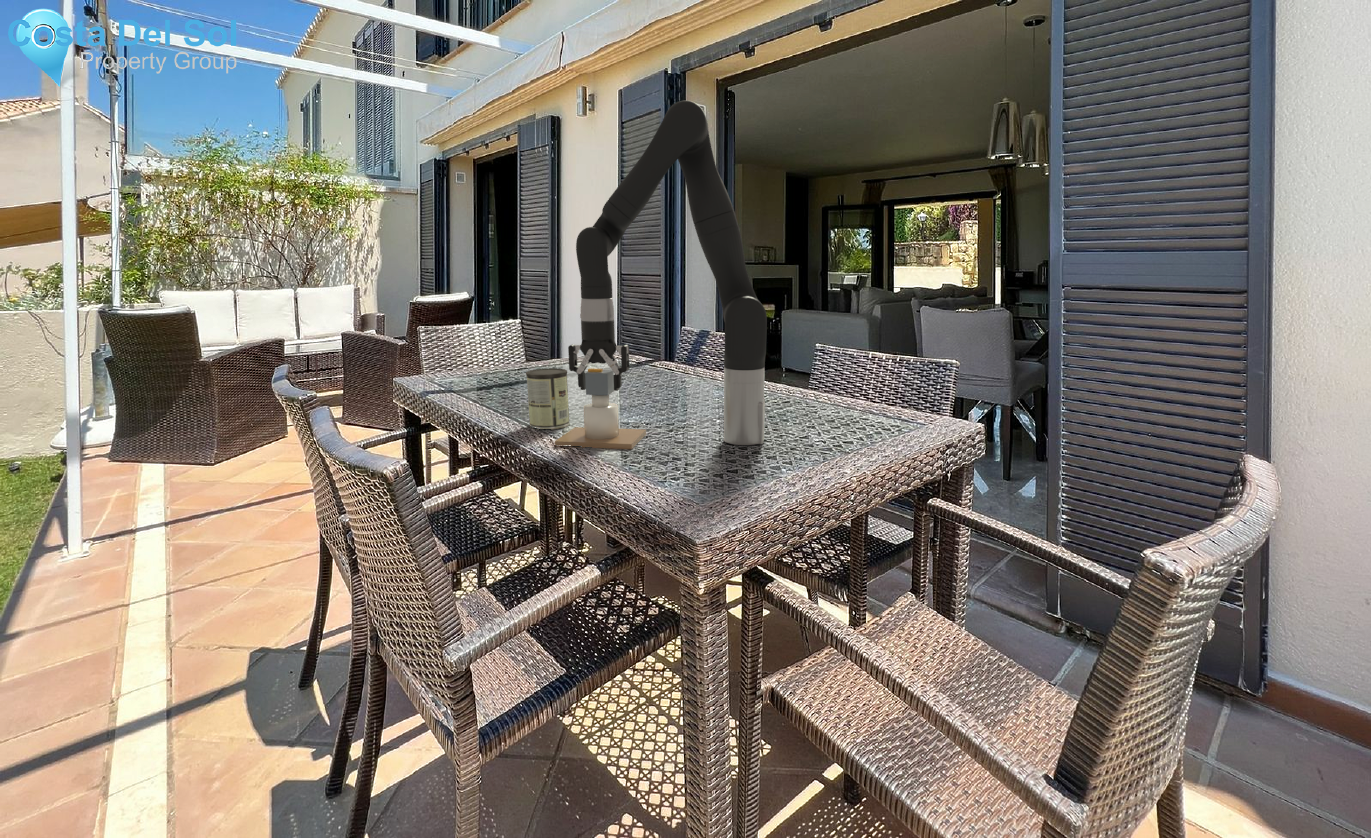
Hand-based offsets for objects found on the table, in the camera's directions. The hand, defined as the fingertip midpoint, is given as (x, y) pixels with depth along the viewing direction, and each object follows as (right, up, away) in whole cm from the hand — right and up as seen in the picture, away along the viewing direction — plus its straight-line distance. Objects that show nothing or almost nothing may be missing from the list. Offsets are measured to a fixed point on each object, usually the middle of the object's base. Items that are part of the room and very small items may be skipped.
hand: (600, 389), depth 164 cm
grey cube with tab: (0, -1, 0) cm, 1 cm away
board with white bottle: (0, -12, +3) cm, 12 cm away
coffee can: (-15, -9, +18) cm, 25 cm away
